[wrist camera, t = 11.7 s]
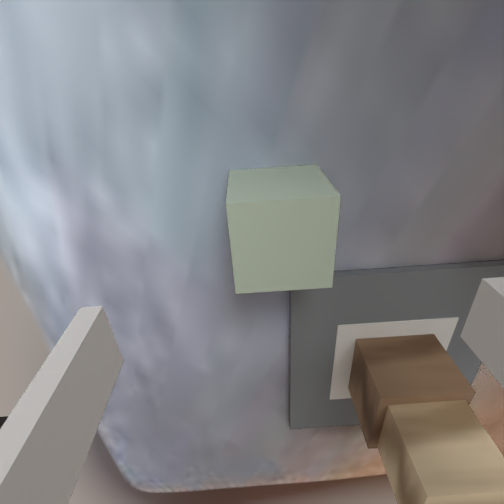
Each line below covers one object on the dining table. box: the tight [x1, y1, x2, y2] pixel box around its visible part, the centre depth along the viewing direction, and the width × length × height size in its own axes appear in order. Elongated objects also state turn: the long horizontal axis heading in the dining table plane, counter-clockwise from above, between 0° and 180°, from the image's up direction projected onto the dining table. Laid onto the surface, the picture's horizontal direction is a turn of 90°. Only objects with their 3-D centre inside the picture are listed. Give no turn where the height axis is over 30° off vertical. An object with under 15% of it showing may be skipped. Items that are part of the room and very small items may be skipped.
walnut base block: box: [348, 334, 475, 449], centre depth 24 cm, size 6×6×5 cm
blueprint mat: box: [289, 260, 504, 429], centre depth 26 cm, size 18×16×1 cm
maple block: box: [377, 400, 504, 504], centre depth 19 cm, size 5×5×5 cm
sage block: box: [226, 164, 341, 294], centre depth 17 cm, size 5×5×5 cm
